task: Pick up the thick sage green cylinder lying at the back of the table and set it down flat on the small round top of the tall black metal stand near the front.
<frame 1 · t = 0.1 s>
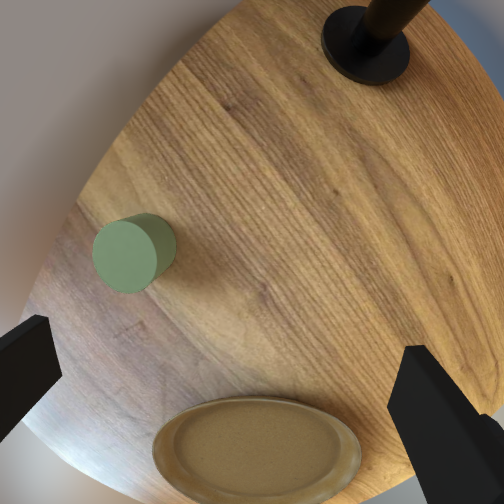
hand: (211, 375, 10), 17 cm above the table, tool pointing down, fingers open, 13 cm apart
sage green cylinder: (146, 244, 27), on the table
plant saucer: (257, 453, 32), on the table
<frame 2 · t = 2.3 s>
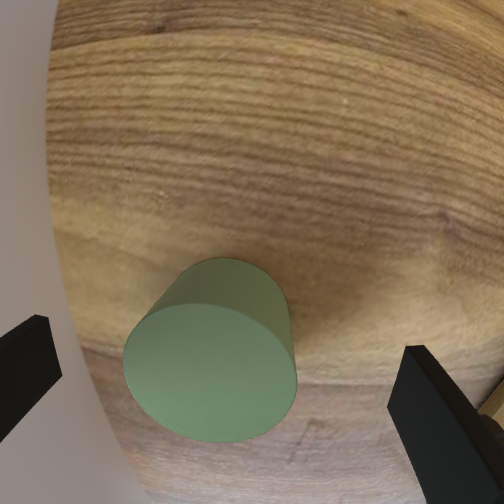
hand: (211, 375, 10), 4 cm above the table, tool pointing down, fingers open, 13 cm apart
sage green cylinder: (226, 318, 14), on the table
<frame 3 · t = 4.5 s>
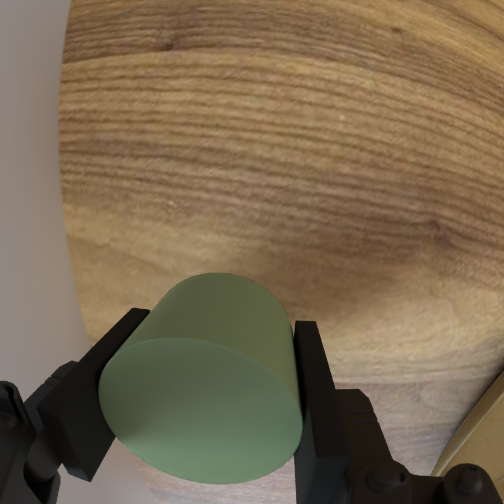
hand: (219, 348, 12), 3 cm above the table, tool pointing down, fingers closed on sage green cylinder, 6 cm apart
sage green cylinder: (221, 340, 12), point 3 cm above the table, touching gripper
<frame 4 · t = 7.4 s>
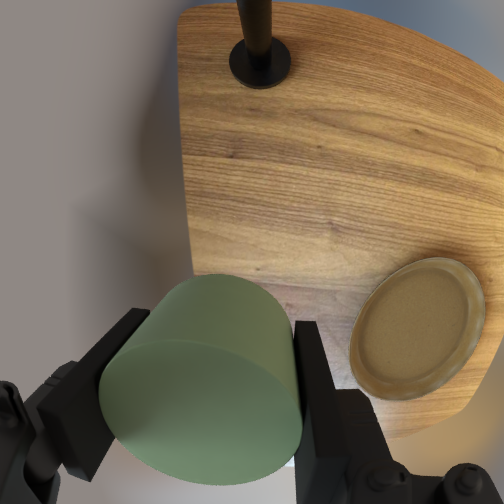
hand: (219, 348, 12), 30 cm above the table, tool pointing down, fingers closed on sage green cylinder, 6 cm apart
sage green cylinder: (221, 341, 12), point 30 cm above the table, touching gripper
plant saucer: (416, 327, 43), on the table
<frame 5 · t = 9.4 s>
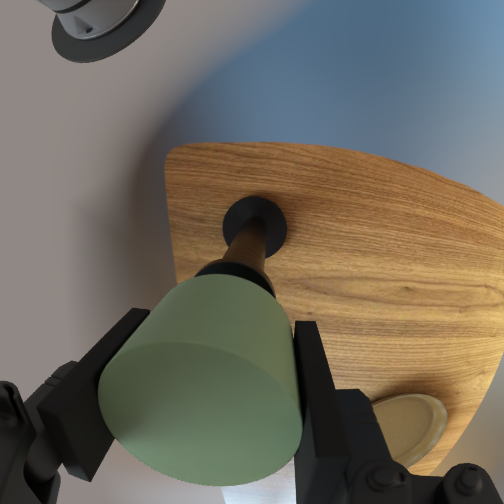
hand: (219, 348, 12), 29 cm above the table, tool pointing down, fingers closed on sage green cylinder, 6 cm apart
sage green cylinder: (221, 341, 12), point 29 cm above the table, touching gripper
stand: (229, 306, 15), on the table
plant saucer: (384, 432, 47), on the table
when the fingers open (25 cm above the table, at t = 10.6 s): sage green cylinder stays where it is, resting on stand.
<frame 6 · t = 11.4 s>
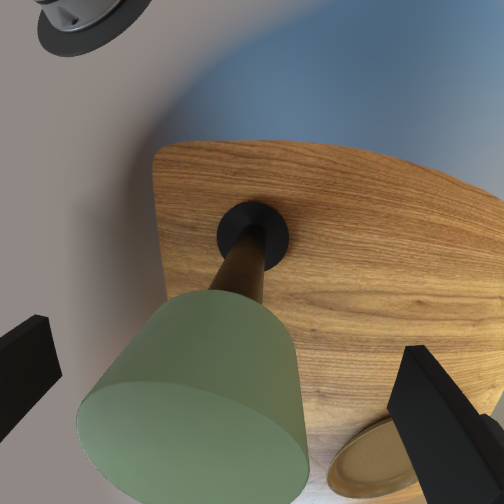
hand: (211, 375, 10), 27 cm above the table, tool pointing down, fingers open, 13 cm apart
sage green cylinder: (216, 363, 11), point 26 cm above the table, touching stand
stand: (215, 364, 11), on the table
plant saucer: (389, 450, 43), on the table
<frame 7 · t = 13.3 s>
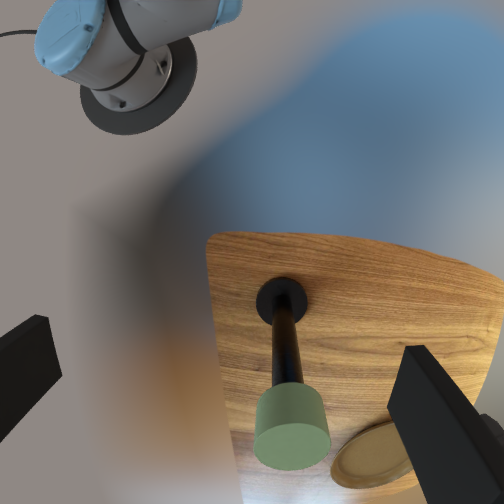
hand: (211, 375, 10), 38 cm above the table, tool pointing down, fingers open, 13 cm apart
sage green cylinder: (290, 407, 24), point 26 cm above the table, touching stand
stand: (289, 408, 24), on the table
plant saucer: (379, 449, 56), on the table
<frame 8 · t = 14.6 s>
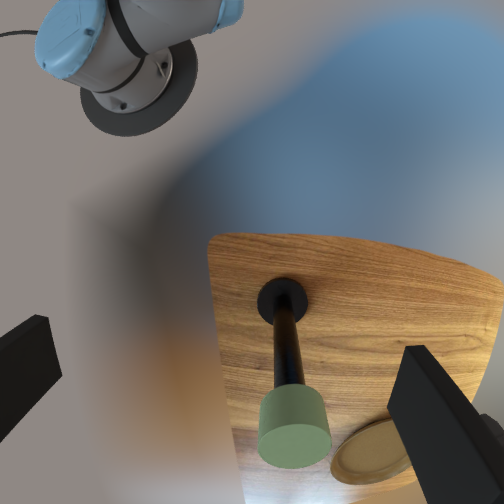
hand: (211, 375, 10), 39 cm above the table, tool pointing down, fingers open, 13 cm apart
sage green cylinder: (292, 408, 25), point 26 cm above the table, touching stand
stand: (291, 408, 25), on the table
plant saucer: (378, 446, 57), on the table
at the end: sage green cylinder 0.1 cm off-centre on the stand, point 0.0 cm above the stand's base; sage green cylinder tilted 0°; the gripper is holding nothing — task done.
